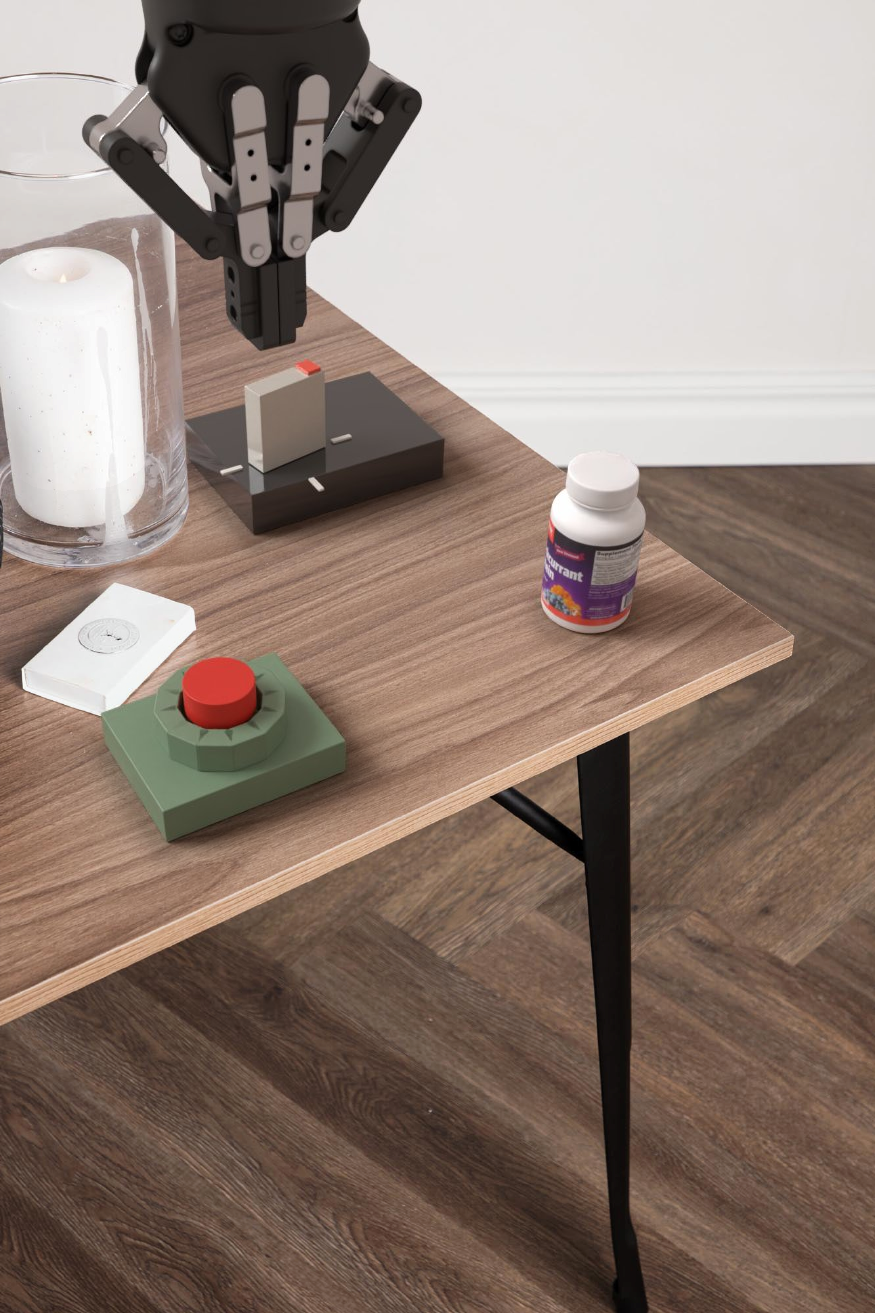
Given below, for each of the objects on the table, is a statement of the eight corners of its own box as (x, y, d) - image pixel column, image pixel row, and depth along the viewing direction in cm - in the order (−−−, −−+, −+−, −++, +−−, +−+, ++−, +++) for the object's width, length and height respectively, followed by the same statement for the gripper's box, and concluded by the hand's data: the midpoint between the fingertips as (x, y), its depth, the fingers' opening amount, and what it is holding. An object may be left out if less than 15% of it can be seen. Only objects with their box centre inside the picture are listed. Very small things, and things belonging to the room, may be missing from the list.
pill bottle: (524, 591, 85) (538, 454, 79) (601, 571, 87) (621, 435, 81) (567, 645, 82) (585, 506, 75) (647, 623, 84) (671, 485, 77)
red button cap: (202, 740, 70) (200, 713, 68) (173, 696, 72) (170, 670, 71) (268, 715, 71) (267, 689, 70) (237, 674, 73) (235, 648, 72)
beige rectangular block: (263, 473, 89) (259, 392, 85) (248, 462, 89) (243, 382, 86) (325, 446, 91) (324, 367, 87) (310, 436, 92) (308, 357, 88)
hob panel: (256, 551, 87) (254, 509, 85) (179, 460, 95) (175, 419, 93) (456, 488, 94) (458, 447, 92) (369, 408, 101) (369, 368, 99)
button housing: (166, 843, 69) (159, 785, 66) (104, 743, 74) (95, 686, 72) (346, 771, 73) (346, 714, 71) (276, 681, 78) (273, 625, 76)
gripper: (369, -188, 50) (365, 268, 62) (5, -161, 45) (74, 336, 56) (484, -143, 46) (457, 342, 57) (93, -107, 40) (149, 424, 51)
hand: (267, 338), depth 56 cm, fingers closed
